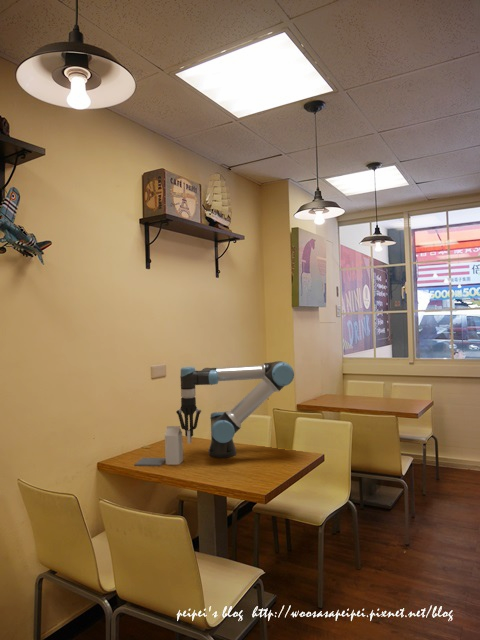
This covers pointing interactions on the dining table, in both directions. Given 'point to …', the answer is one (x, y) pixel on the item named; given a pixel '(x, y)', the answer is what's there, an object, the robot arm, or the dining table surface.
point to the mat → (150, 462)
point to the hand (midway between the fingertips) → (189, 442)
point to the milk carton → (173, 445)
